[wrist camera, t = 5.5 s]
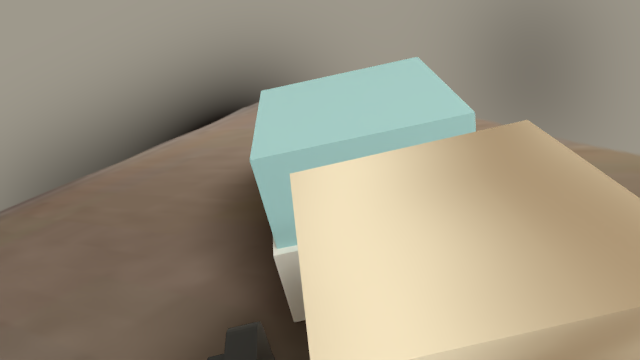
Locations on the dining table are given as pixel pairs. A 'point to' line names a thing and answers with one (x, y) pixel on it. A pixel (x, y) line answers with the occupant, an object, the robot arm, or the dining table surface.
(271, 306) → the dining table surface
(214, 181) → the dining table surface
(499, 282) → the birch post
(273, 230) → the tower top
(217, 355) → the robot arm
